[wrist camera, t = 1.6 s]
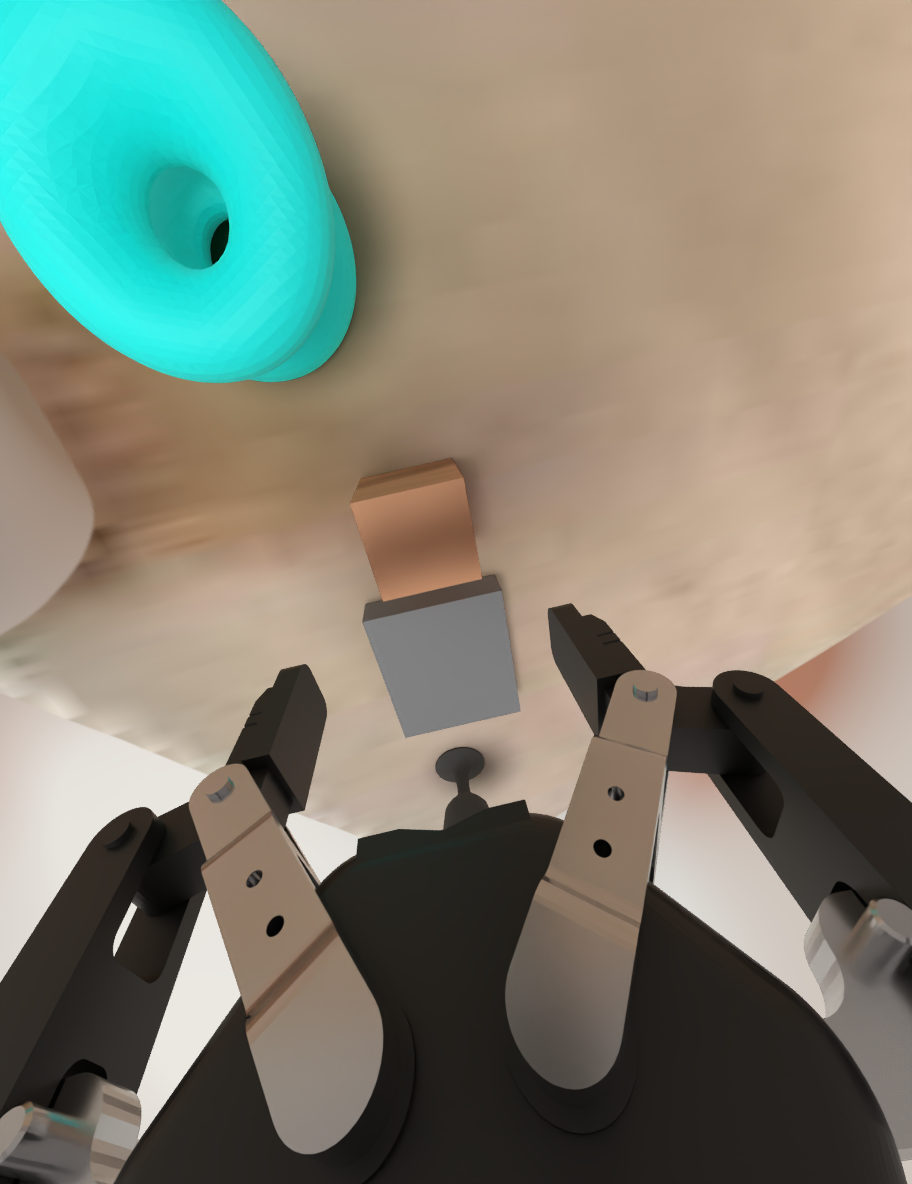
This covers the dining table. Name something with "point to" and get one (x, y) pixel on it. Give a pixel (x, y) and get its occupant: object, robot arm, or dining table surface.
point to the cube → (417, 529)
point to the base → (445, 655)
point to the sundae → (461, 783)
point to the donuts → (170, 187)
